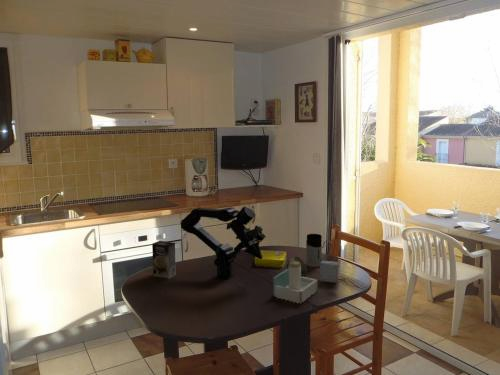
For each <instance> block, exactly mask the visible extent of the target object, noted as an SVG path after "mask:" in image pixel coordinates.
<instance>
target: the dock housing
mask: <svg viewBox="0 0 500 375" xmlns="http://www.w3.org/2000/svg"><path fill="white" fill-rule="evenodd" d="M301 281H304V282H308V283H310V284H309V285H307V286H306V287H305V288H303V289H302V290H300V291H298V290H294V289H290V288H285V287H281V286H277V285H276V286H275V296H274V297H277V298H276V299H279V298H281V299H280V300H283V299H285V300H284V301H287V300H289V301H288V302H291V301H292V302H291V303H295V302H296V303H295V304H299V303H300V304H299V305H301V304H303V303H304V302H305V301H306V300H308V299H309V298H311V295H312V296H313V295H314V294H315V293H317V292H318V289H319V288H318V286H319V282H318V279H317V278H311V277H305V276H301ZM307 298H308V299H307ZM302 302H303V303H302Z"/></svg>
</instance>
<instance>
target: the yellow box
mask: <svg viewBox="0 0 500 375" xmlns="http://www.w3.org/2000/svg"><path fill="white" fill-rule="evenodd" d="M260 251H261V254H262V259H259V258H257V257H255V256H254V266H255V265H256V266H255V267H261V266H263V267H264V268H279V269H281V268H284V267H285V265H286V261H287V251H281V250H267V249H266V250H265V249H260Z"/></svg>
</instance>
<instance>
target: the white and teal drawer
mask: <svg viewBox="0 0 500 375" xmlns="http://www.w3.org/2000/svg"><path fill="white" fill-rule="evenodd" d="M272 280H273V282H272V283H273V285H272V286H273V287H272V289H273V290H272V291H273V292H272V293H273V294H272V295H273V296H274V297H275V286H276V285H277V286H281V287H285V288H289V268H288V269H287V268H286V269H285V270H283V271H282V272H280V273H278V274H277V275H275V276H273V279H272ZM309 284H310V283H308V282H304V281H301V290H302V289H303V288H305V287H306V286H307V285H309Z"/></svg>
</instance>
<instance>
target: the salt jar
mask: <svg viewBox="0 0 500 375" xmlns="http://www.w3.org/2000/svg"><path fill="white" fill-rule="evenodd" d="M288 262H289V261H288ZM289 288H290V289H294V290H298V291H300V290H301V265H300V262H296V261H293V262H289Z"/></svg>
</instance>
